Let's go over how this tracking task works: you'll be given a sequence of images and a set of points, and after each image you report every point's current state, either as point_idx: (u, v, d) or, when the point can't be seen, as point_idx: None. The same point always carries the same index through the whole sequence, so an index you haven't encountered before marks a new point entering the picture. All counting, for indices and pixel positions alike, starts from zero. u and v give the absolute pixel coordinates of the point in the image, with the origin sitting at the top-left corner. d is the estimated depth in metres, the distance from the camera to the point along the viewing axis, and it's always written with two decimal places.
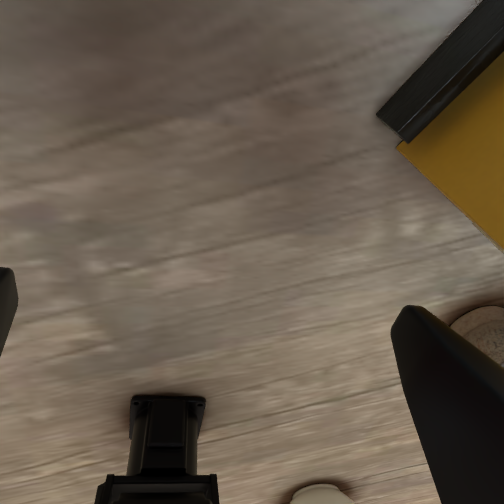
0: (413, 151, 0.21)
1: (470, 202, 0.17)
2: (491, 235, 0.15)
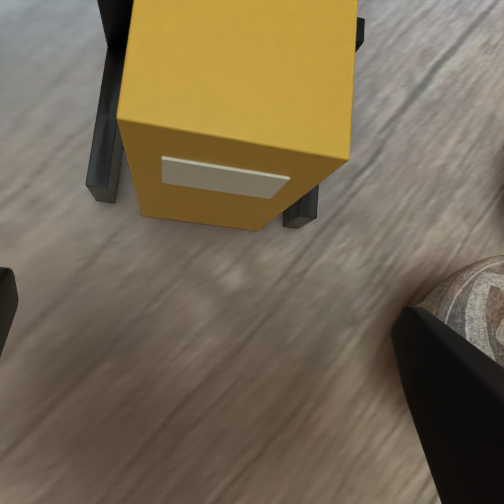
0: None
1: None
2: None
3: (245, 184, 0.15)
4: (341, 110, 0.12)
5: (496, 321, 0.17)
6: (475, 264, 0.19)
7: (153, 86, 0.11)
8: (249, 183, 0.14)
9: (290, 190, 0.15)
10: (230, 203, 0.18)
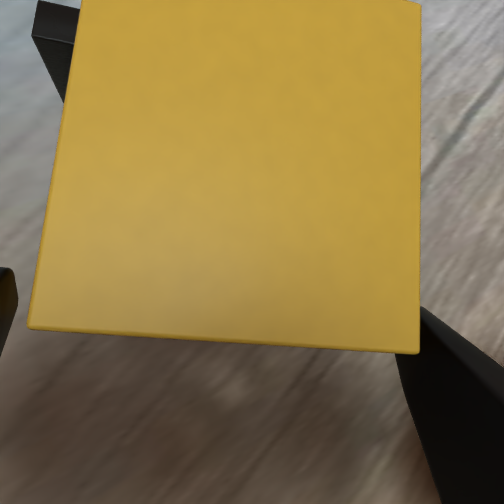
0: None
1: None
2: None
3: None
4: (404, 271, 0.07)
5: None
6: None
7: (93, 264, 0.06)
8: None
9: None
10: None
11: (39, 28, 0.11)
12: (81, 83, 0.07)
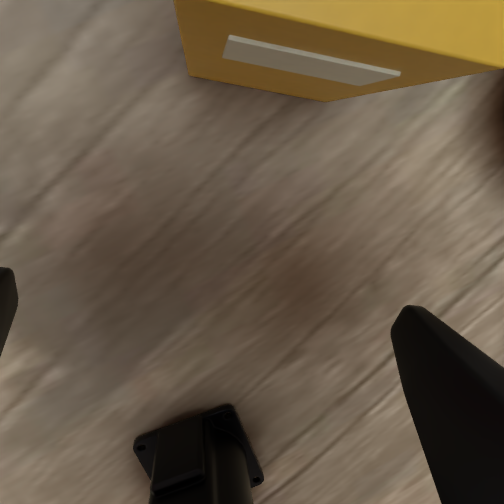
0: None
1: None
2: (178, 24, 0.09)
3: (334, 72, 0.11)
4: None
5: None
6: None
7: None
8: (340, 72, 0.11)
9: (393, 81, 0.11)
10: (303, 81, 0.14)
11: None
12: None
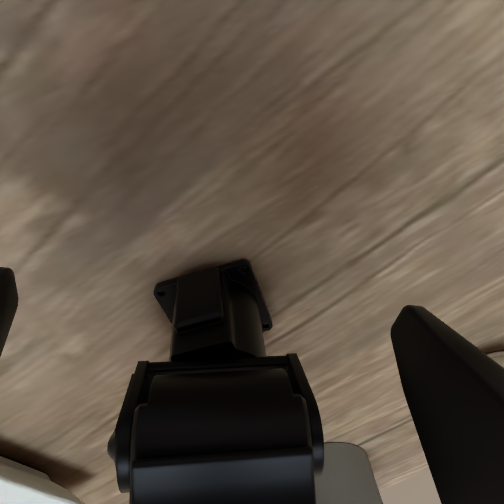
0: None
1: None
2: None
3: None
4: None
5: None
6: None
7: None
8: None
9: None
10: None
11: None
12: None
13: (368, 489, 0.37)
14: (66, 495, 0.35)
